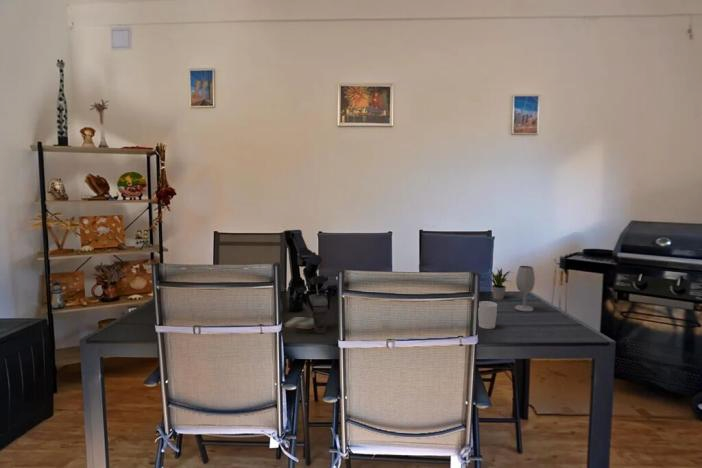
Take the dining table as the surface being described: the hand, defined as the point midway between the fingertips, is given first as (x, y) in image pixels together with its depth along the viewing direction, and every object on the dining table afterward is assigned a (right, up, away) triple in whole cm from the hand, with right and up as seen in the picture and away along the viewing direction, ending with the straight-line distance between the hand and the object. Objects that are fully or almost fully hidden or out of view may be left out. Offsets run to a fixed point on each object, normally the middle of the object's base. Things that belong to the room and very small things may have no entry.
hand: (320, 309), depth 183 cm
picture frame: (-9, -8, +12) cm, 17 cm away
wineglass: (+96, -5, +31) cm, 101 cm away
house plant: (+91, -3, +51) cm, 105 cm away
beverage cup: (0, -10, +3) cm, 10 cm away
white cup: (+71, -9, +7) cm, 72 cm away
